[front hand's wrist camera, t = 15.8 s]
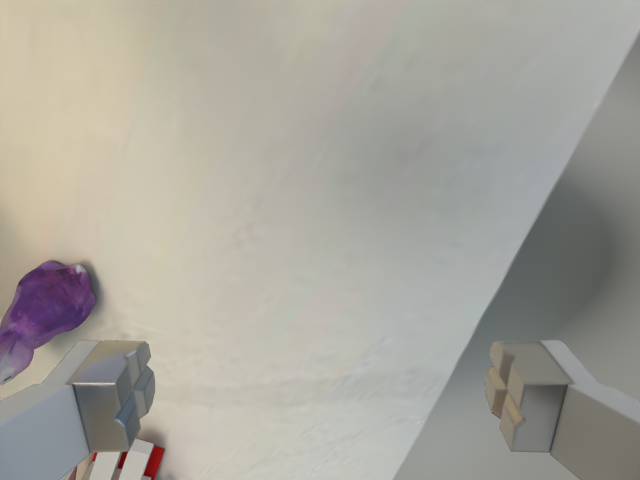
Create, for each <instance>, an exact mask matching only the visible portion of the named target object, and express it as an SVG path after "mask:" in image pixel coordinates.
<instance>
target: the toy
mask: <svg viewBox="0 0 640 480" xmlns="http://www.w3.org/2000/svg"><path fill="white" fill-rule="evenodd" d="M163 452H164V449H162V448H158V447H155V446H154V444H153V443H149V442H146V441H142V440H139V439H135V441H134V443H133V445H132V447H131V449H130V451H128V452H95V453H94V457H93V460H92V463H91V464H90V466H89V468H88V469H87V471H86V473H85V474H84V476H83V477H82V479H81V480H154V478H155V475H156V473H157V470H158V467H159V464H160V461H161V458H162V455H163ZM76 472H77V466H76V467H75V468H73V469H72V470H71V471H70V472H69V473H67V474H66V476H65V478H64V480H75V479H76Z"/></svg>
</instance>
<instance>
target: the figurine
mask: <svg viewBox="0 0 640 480" xmlns="http://www.w3.org/2000/svg"><path fill="white" fill-rule="evenodd" d="M95 302H96V299H95V296H94V294H93V293H92V290H91V286H90V281H89V277H88V273H87V271H86V270H85V269H84V267H83V266H81V265H80V264H73V265H71V266H64V265H60V264H58V263H56V262H53V261H47V262H45V263H43V264H41V265H40V266H39V267H38V268H36V269H34V270H32V271H31V272H29V273H28V274H26V275H25V276H24V277H23V278H22V279H21V280H20V282H19V283H18V286H17V289H16V293H15V297H14V299H13V302H12V304H11V306H10V307H9V309H8V310H7V312H6V314H5V316H4V318H3V320H2V323H1V326H0V385H2V384H4V383H6V382H8V381H10V380H12V379H13V378H14V377H15V376H16V375H17V374H19V373H20V372H22V371H23V370H25V369H26V368H27V367H28V366H29V364H30V363H31V361H32V358H33V354H34V349H36V348H38V347H40V346H42V345H44V344H46V343H47V342H49V341H50V340H51V339H52V338H53V337H54V336H55V335H58V334H60V333H63V332H66V331H71V330H73V329H75V328H76V327H78V326H79V325H80V324H82V323H83V322H84V321H85V320H86V318H87V317H88V315H89V314H90V312H91V310H92V308H93V307H94V305H95Z"/></svg>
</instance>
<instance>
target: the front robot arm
mask: <svg viewBox="0 0 640 480" xmlns="http://www.w3.org/2000/svg"><path fill="white" fill-rule="evenodd" d="M489 357H490V359H491V361H492V363H493V366H492V367H491V368H490V369H489V370H488V371H487V372H486V378H485V393H486V399H487V402H488V405H489V408H490V410H491V412H492V413H493V414H494V415H495V416H497V417H498V418H500V419H501V421H500V427H499V428H500V430H501V432H502V434H503V436H504V438H505V440H506V443H507V445H508V447H509V449H510V450H511V452H547V453H550V455H551V456H553V457H554V458H555V459H556V460H557V461H559V462H560V463H561V464H562V465H563V466H565V467H566V468H567V469H568V470H569V471H570V472H572V473H573V474H574V475H575V476H576V477H577V478H579V479H580V480H640V401H638V400H636V399H634V398H632V397H630V396H628V395H626V394H624V393H622V392H620V391H618V390H616V389H614V388H612V387H610V386H608V385H599V383H598V382H597V381H596V380H595V379H594V378H593V377H592V375H591V374H590V373H589V372H588V371H587V370H586V368H585V367H584V366H583V365H582V364H581V363H580V362H579V360H578V359H577V358H576V357H575V356H574V355H573V354H572V352H571V351H570V350H569V349H568V348H567V347H566V345H565V344H564V343H563V342H561V341H559V340H542V341H513V342H493V344H492V346H491V348H490V354H489ZM150 358H151V354H150V349H149V345H148V344H147V343H146V342H145V341H110V340H104V341H102V340H83V341H79V342H77V343H76V344H75V345H74V347H73V348H72V349H71V350H70V351H69V352H68V353H67V355H66V356H65V357H64V358H63V359H62V360H61V362H60V363H59V364H58V365H57V366H56V367H55V368H54V370H53V371H52V372H51V373H50V374H49V375H48V377H47V378H46V379H45V380H44V381H43V382H42V383H41V385H32V386H30V387H28V388H26V389H24V390H22V391H20V392H18V393H16V394H14V395H12V396H10V397H8V398H6V399H4V400H2V401H0V480H60V479H61V478H63V477H64V476H65V475H66V474H67V473H69V472H70V471H71V470H72V469H73V468H75V467H76V466H77V465H78V464H79V463H80V462H82V461H83V460H84V459H85V458H86V457H88V456H89V455H90V453H93V452H128V451H130V449H131V447H132V445H133V443H134V441H135V439H136V437H137V434H138V432H139V430H140V428H141V427H140V421H139V419H140V418H142V417H143V416H145V415H146V414H147V413H148V412H149V410H150V408H151V405H152V403H153V398H154V393H155V377H154V372H153V371H152V370H151V369H150V368H149V367H148V366H147V363H148V361H149V359H150Z"/></svg>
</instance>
